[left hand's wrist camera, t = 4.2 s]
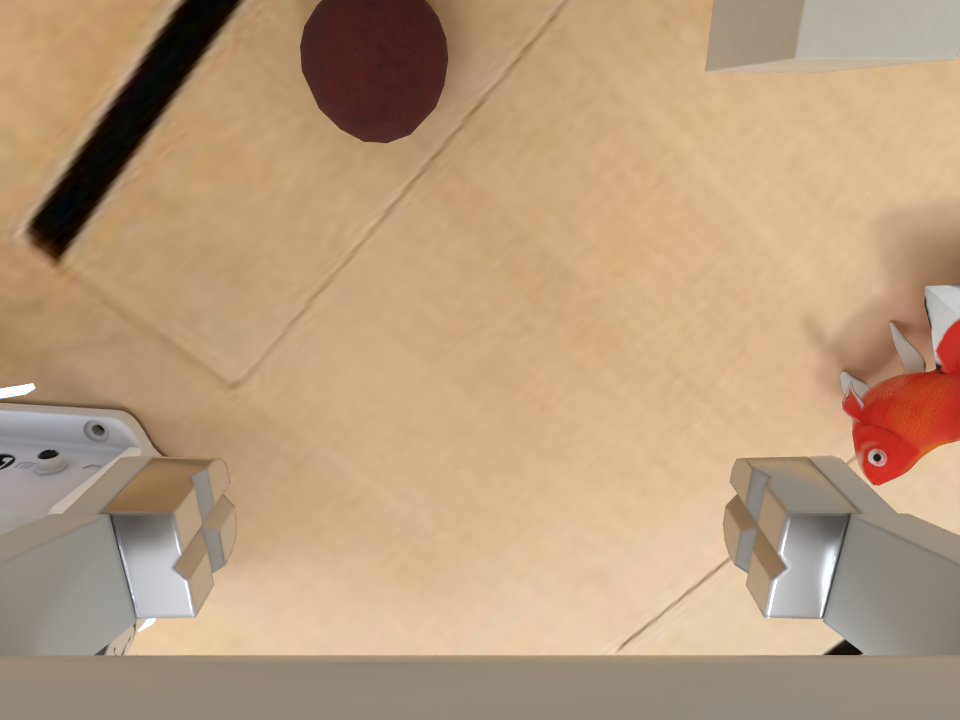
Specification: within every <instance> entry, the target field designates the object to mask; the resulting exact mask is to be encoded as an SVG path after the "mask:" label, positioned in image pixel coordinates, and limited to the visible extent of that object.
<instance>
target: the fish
mask: <svg viewBox="0 0 960 720" xmlns="http://www.w3.org/2000/svg"><path fill="white" fill-rule="evenodd" d="M925 308H926V312H927V315H928V319H929V323H930V326H931V333H932V342H933V349H934V356H935V362H936V369H935V370H933V371H931V372H925V369H926V363H925V361H924V358H923V357H922V356H921V354H920V353H919V352H918V351H917V350H916V349H915V348H914V347H913V346H912V345H911V343H910V342H909V341H908V340H907V339H906V338H905V337H904V336H903V335H902V333H901V332H900V331H899V330H898V329H897V327H896V326H895V325H894V324H893V323H889V325H890V328H891V332H892V336H893V340H894V343H895V346H896V349H897V351H898V354H899V356H900V358H901V360H902V363H903V366H904V375H899V376H896V377H892V378H890V379H887V380H885V381H882V382H880V383H878V384H876V385H875V386H873V387H872V388H870V389H869V386H868V384H867V383H865V382H864V381H862V380H860V379H857V378H856V377H854V376H852V375H851V374H849V373H848V372H846V371H843V372H842V373H841V374H840V381H841V387H842V391H843V394H844V399H843V402H842V404H843V410H844V411H845V412H846V413H847V414H848V415H849V416H851V417H852V418H853V424H852V427H853V430H852V436H853V441H854V448H855V453H856V458H857V461H858V464H859V467H860V468H861V470H862V472H863V473H864V475H865V476H866V477H867V478H868V480H869V481H870V482H871V483H872V484H873V485H878V486H879V485H881V484H883V483H885V482H888V481H890V480H893V479H895V478H897V477H899V476H901V475H903V474H904V473H906V472H907V471H908V470H910V469H911V468H912V467H913V466H914V465H915V464H916V462H917V461H918V460H919V459H920V458H921V457H923V456H924V455H926V454H927V453H928V452H930V451H932V450H933V449H935V448H936V447H938V446H941V445H943V444H947V443H952V442H956V441H959V440H960V285H937V286H925Z"/></svg>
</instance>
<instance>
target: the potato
mask: <svg viewBox="0 0 960 720" xmlns="http://www.w3.org/2000/svg"><path fill="white" fill-rule="evenodd" d="M300 50H301V63H302V72H303V74H304V76H305V78H306V81H307V83H308V85H309V87H310V89H311V92H312V94H313V96H314V98H315V100H316V103H317V105H318V107H319V109H320V110H321V111H322V112H323V113H324V114H325V115H326V116H328V117H329V118H330V119H331V120H332V121H333V122H334V123H335V124H336V125H337V126H338V127H339V128H340V129H341V130H343V131H345V132H347V133H349V134H351V135H353V136H354V137H356V138H358V139H360V140H362V141H364V142H380V143H388V142H391V141H394V140H397V139H399V138H402V137H405V136H408V135H410V134H411V133H412V132H413V131H414V130H415V129H416V128H417V127H418V126H419V125H420V124H421V123H422V122H423V120H424V119H425V118H426V117H427V116H428V115H429V114H430V113H431V112H432V111H433V110H434V108H435V107H436V105H437V102H438V100H439V97H440V95H441V92H442V90H443V87H444V82H445V76H446V69H447V63H448V54H447V44H446V37H445V34H444V31H443V29H442V26H441V23H440V21H439V18H438V16H437V15H436V13H435V12H434V11H433V9H432V8H431V7H430V5H429V4H428V3H427V1H426V0H322V1H321V2H320V3H319V4H318V5H317V6H316V8H315V10H314V11H313V13H312V15H311V16H310V18H309V20H308V21H307V23H306V25H305V26H304V31H303V36H302V40H301V45H300Z"/></svg>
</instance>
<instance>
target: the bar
mask: <svg viewBox="0 0 960 720" xmlns="http://www.w3.org/2000/svg"><path fill="white" fill-rule="evenodd" d="M959 51H960V0H714V3H713V11H712V19H711V28H710V36H709V44H708V52H707V60H706V68H705V71H706V72H750V73H822V72H833V71H844V70H854V69H865V68H875V67H886V66H897V65H907V64H918V63H928V62H939V61H950V60H955V59H957V58H958V55H959Z"/></svg>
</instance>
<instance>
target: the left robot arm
mask: <svg viewBox="0 0 960 720" xmlns="http://www.w3.org/2000/svg"><path fill="white" fill-rule="evenodd" d="M33 389H35V387H34V385H33V384H27V385H21V386H15V387H9V388H3V389H0V398H5V397H11V396H17V395H23V394H27V393H28V392H30V391H31V390H33ZM98 425H100V426H102V427H103V428H104V430H105V431H103V430H101V429H100V428H99V427H98ZM229 483H230V478H229V473H228V469H227V464H226V463H225V462H224V461H223V460H222V459H221V458H214V457H163V456H162V455H161V454H160V453H159V452H158V451H157V450H156V449H155V448H154V447H153V446H152V444H151V442H150V440H149V438H148V437H147V435H146V433H145V432H144V430H143V429H142V427H141V426H140V424H139V423H138V422H137V420H136V419H135V418H134V417H133V416H132V415H130V414H129V413H127V412H124V411H121V410H111V409H95V408H79V407H63V406H47V405H31V404H15V403H0V720H960V536H959V535H957V534H955V533H952V532H950V531H948V530H945V529H943V528H941V527H938V526H936V525H934V524H931V523H929V522H926V521H924V520H922V519H919V518H917V517H915V516H912V515H910V514H898V513H897V512H896V511H895V510H894V509H892V508H891V507H890V506H889V505H888V504H887V503H886V502H885V501H884V500H883V499H882V498H881V497H880V496H879V495H878V494H877V493H876V492H875V491H874V490H873V489H872V488H871V487H870V486H869V485H867V484H866V483H865V482H864V481H863V480H862V479H861V478H860V477H859V476H858V475H857V474H856V473H855V472H854V471H853V470H852V469H851V468H850V467H849V466H848V465H847V464H846V463H845V462H844V461H842V460H841V459H840V458H837V457H834V456H812V457H770V458H741V459H736V461H735V463H734V466H733V468H732V472H731V478H730V483H731V485H732V486H733V488H734V489H735V491H736V492H737V495H736V496H735V497H734V498H733V499H732V500H731V501H730V502H729V503H728V504H727V505H726V507H725V514H724V521H723V527H724V539H725V544H726V547H727V550H728V553H729V555H730V557H731V559H732V561H733V563H734V565H736V566H737V567H739V568H740V569H742V570H743V571H745V572H747V573H748V577H747V582H746V586H747V588H748V590H749V591H750V593H751V595H752V597H753V598H754V600H755V602H756V604H757V606H758V607H759V609H760V611H761V613H762V614H763V616H764V618H800V619H823V622H824V623H825V624H826V625H828V626H829V627H830V628H832V629H833V630H834V631H836V632H837V633H838V634H839V635H841V636H842V637H843V638H845V639H846V640H847V641H849V642H850V643H851V644H852V645H854V646H855V647H856V648H858V649H859V650H860V651H862V652H863V653H864V654H865V655H127V653H128V651H129V649H130V647H131V644H132V642H133V639H134V636H135V635H136V633H137V632H138V631H140V630H142V629H144V628H146V627H147V626H149V625H151V624H153V622H154V620H155V619H160V618H195V617H196V616H197V614H198V613H199V611H200V609H201V607H202V606H203V604H204V602H205V600H206V599H207V597H208V595H209V593H210V591H211V590H212V588H213V586H214V582H213V577H212V573H213V572H215V571H217V570H218V569H220V568H221V567H223V566H224V565H226V563H227V561H228V559H229V557H230V555H231V553H232V551H233V546H234V542H235V538H236V513H235V506H234V505H233V504H232V503H231V502H230V501H229V500H228V499H227V498H226V497H225V496H224V495H223V492H224V491H225V489H226V488H227V486H228V485H229Z"/></svg>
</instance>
